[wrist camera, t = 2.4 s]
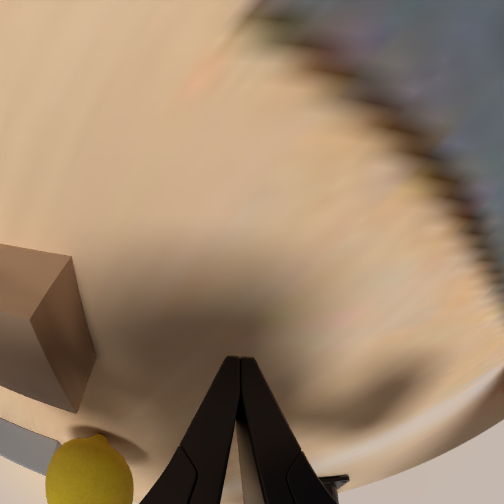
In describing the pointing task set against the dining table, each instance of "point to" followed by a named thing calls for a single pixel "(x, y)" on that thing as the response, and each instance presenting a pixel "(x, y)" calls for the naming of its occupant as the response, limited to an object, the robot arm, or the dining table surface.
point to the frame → (26, 447)
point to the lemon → (88, 474)
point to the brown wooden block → (43, 328)
